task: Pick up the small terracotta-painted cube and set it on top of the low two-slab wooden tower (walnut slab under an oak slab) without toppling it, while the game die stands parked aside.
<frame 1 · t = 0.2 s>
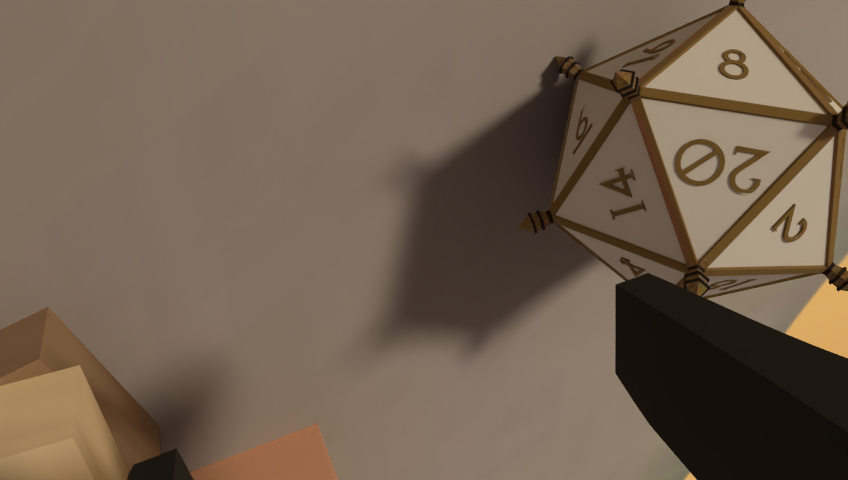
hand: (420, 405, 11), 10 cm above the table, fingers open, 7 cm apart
oak slab: (3, 472, 18), point 2 cm above the table, touching walnut slab
walnut slab: (20, 408, 20), on the table, touching oak slab
game die: (609, 110, 22), on the table
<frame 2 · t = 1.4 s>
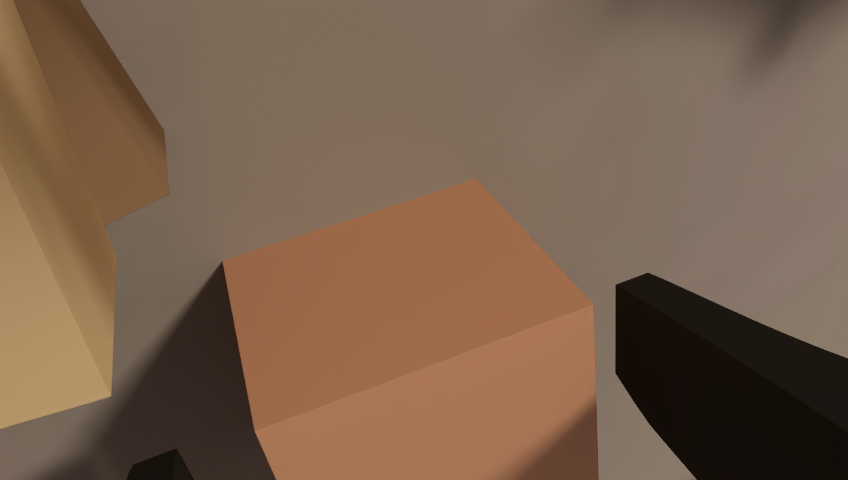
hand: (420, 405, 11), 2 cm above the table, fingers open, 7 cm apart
terracotta block: (378, 315, 13), on the table
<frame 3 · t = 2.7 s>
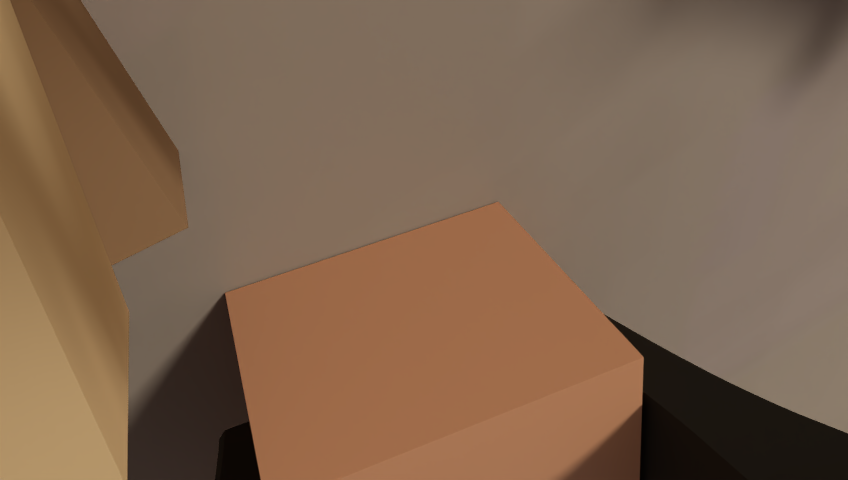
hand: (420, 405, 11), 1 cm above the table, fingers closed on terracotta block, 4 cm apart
terracotta block: (393, 349, 12), on the table, touching gripper
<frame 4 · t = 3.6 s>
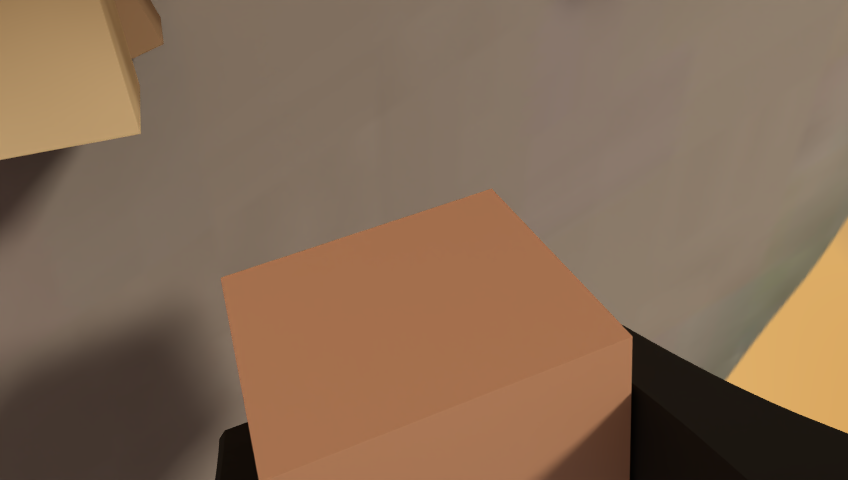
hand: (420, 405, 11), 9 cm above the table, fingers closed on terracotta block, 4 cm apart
terracotta block: (387, 336, 12), point 7 cm above the table, touching gripper
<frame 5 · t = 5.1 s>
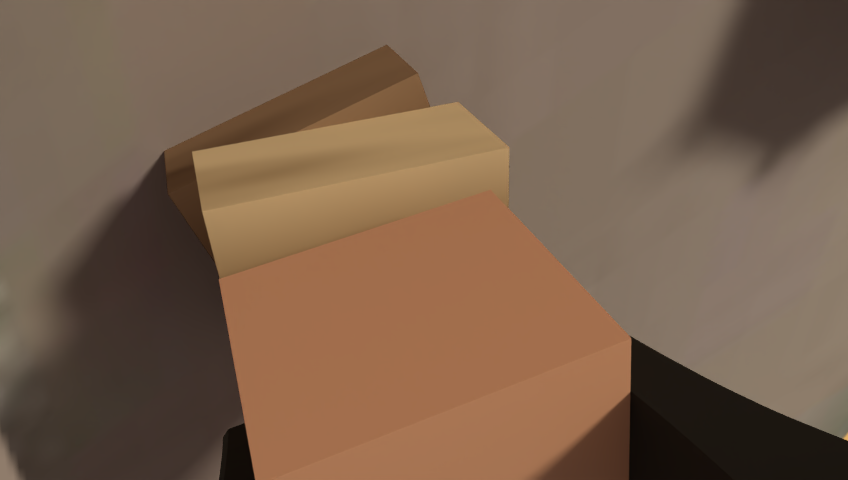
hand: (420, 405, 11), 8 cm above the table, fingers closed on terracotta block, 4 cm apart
terracotta block: (386, 337, 12), point 6 cm above the table, touching gripper
oak slab: (347, 240, 15), point 2 cm above the table, touching walnut slab
walnut slab: (323, 186, 17), on the table, touching oak slab
when the fingers open (8 cm above the table, at t = 5.4 s): terracotta block drops 1 cm, resting on oak slab.
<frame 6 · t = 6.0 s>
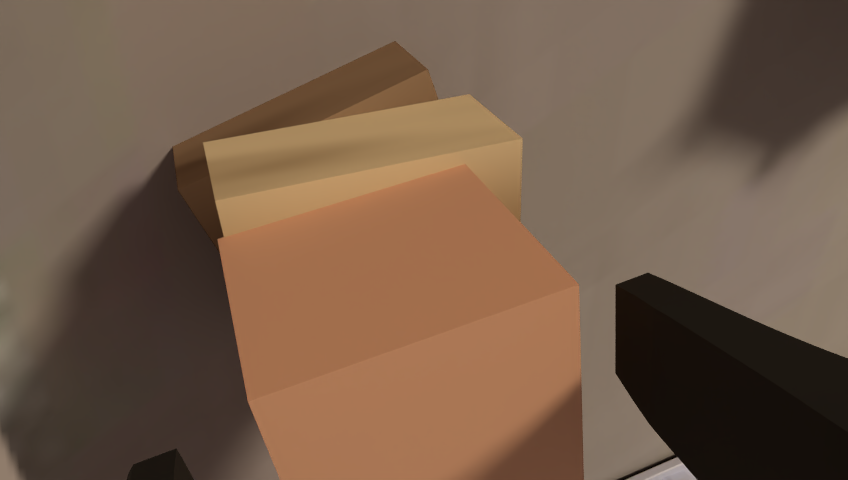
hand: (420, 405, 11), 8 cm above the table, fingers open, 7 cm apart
terracotta block: (370, 299, 13), point 5 cm above the table, touching oak slab
oak slab: (357, 233, 15), point 2 cm above the table, touching terracotta block, walnut slab
walnut slab: (330, 184, 17), on the table, touching oak slab
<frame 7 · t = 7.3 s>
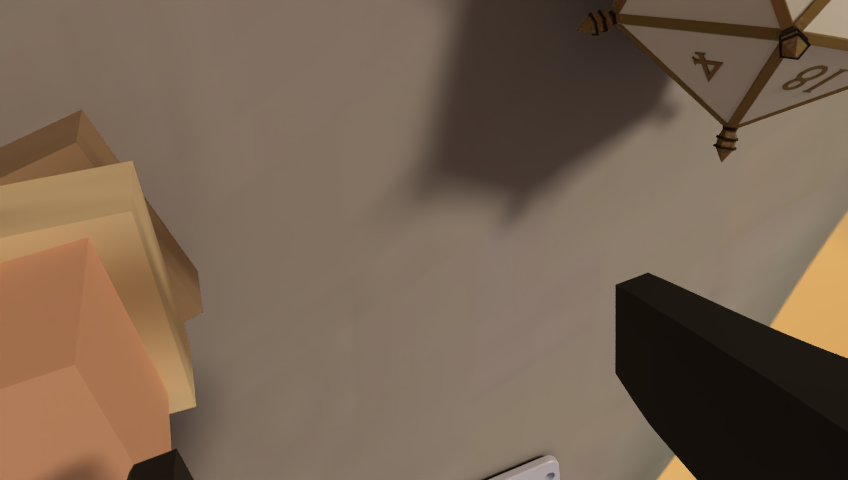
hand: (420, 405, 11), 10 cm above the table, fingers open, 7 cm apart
terracotta block: (23, 356, 15), point 5 cm above the table, touching oak slab
oak slab: (44, 286, 17), point 2 cm above the table, touching terracotta block, walnut slab
walnut slab: (50, 236, 19), on the table, touching oak slab
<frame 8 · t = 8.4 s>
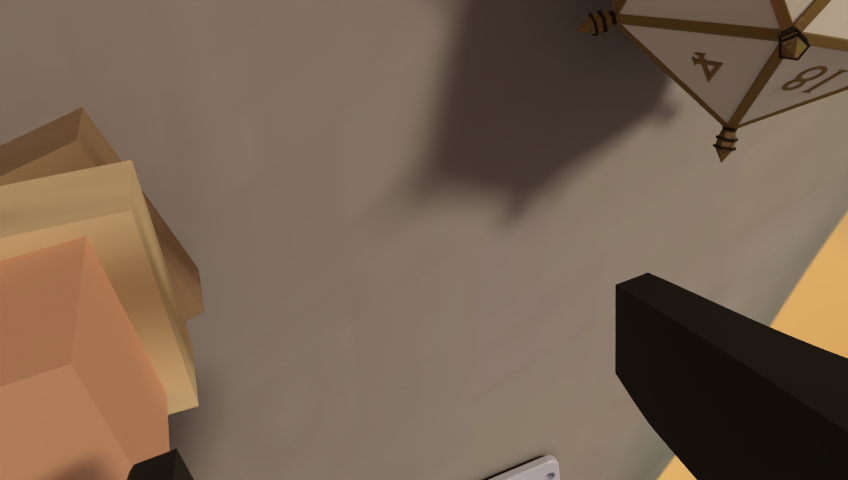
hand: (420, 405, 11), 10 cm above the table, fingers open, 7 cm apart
terracotta block: (20, 355, 15), point 5 cm above the table, touching oak slab
oak slab: (45, 287, 17), point 2 cm above the table, touching terracotta block, walnut slab
walnut slab: (50, 235, 19), on the table, touching oak slab
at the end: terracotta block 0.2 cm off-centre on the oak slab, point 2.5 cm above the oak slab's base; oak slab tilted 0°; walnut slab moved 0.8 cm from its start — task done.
